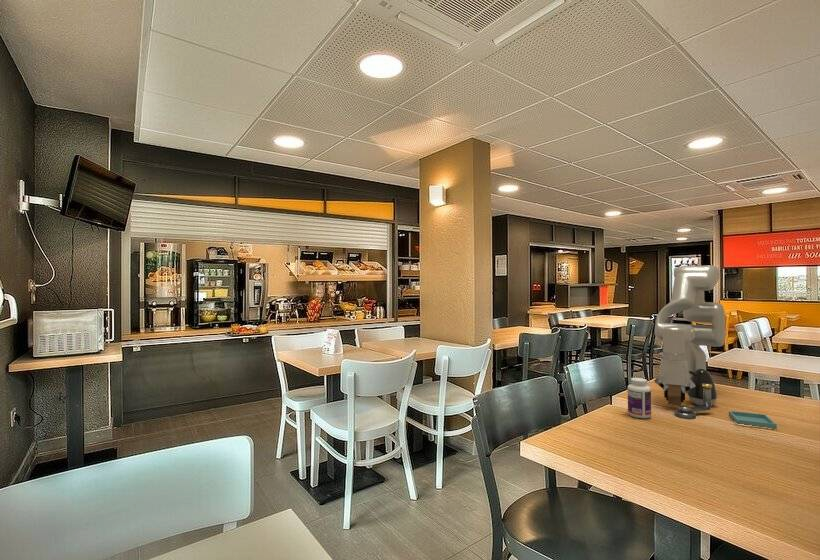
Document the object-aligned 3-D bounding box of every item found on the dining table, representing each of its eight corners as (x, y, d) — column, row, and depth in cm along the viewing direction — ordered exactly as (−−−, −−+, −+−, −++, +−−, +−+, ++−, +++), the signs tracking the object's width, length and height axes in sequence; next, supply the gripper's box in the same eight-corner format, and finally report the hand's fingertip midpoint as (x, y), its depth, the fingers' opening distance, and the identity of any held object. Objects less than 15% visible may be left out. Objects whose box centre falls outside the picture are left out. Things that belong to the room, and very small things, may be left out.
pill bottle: (645, 412, 164) (645, 377, 164) (655, 419, 156) (655, 382, 156) (624, 412, 165) (624, 376, 165) (633, 419, 157) (632, 381, 157)
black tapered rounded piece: (681, 400, 179) (681, 366, 179) (706, 401, 179) (705, 366, 179) (697, 408, 169) (696, 371, 169) (722, 408, 169) (722, 371, 169)
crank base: (672, 412, 164) (672, 408, 164) (693, 414, 161) (693, 410, 161) (675, 417, 158) (675, 413, 158) (697, 420, 155) (697, 416, 155)
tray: (728, 416, 159) (728, 410, 159) (765, 420, 154) (765, 414, 154) (737, 425, 149) (737, 419, 149) (776, 430, 144) (776, 424, 144)
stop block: (681, 406, 165) (680, 386, 165) (667, 404, 167) (667, 385, 167) (681, 403, 168) (681, 383, 168) (668, 401, 171) (668, 382, 171)
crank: (685, 413, 157) (684, 387, 157) (676, 410, 161) (675, 385, 161) (715, 410, 161) (715, 385, 161) (705, 407, 165) (705, 382, 165)
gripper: (649, 356, 169) (650, 399, 170) (699, 360, 159) (699, 406, 160) (651, 352, 175) (651, 395, 176) (699, 356, 165) (699, 401, 166)
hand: (674, 400), depth 168 cm, fingers closed on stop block, 4 cm apart
